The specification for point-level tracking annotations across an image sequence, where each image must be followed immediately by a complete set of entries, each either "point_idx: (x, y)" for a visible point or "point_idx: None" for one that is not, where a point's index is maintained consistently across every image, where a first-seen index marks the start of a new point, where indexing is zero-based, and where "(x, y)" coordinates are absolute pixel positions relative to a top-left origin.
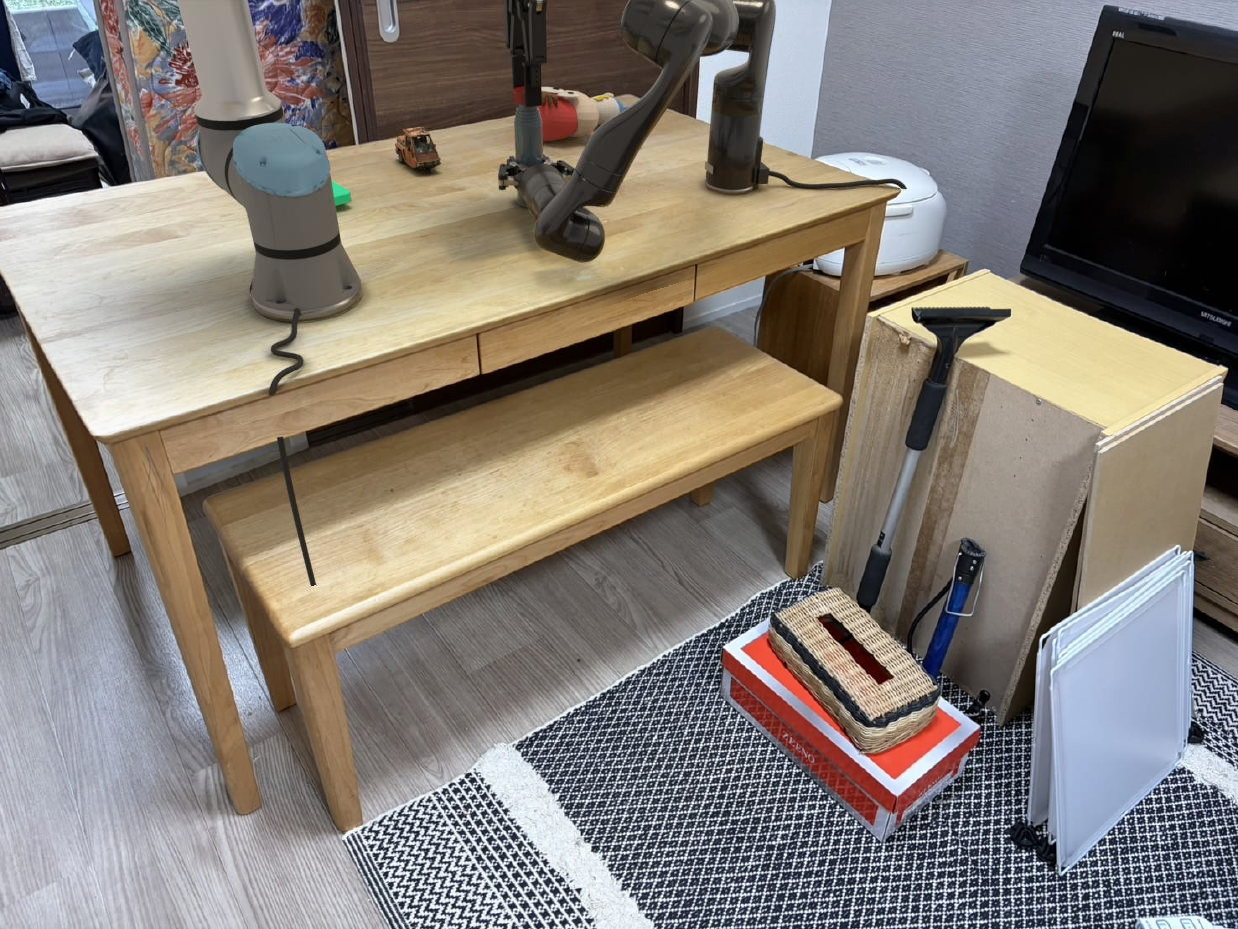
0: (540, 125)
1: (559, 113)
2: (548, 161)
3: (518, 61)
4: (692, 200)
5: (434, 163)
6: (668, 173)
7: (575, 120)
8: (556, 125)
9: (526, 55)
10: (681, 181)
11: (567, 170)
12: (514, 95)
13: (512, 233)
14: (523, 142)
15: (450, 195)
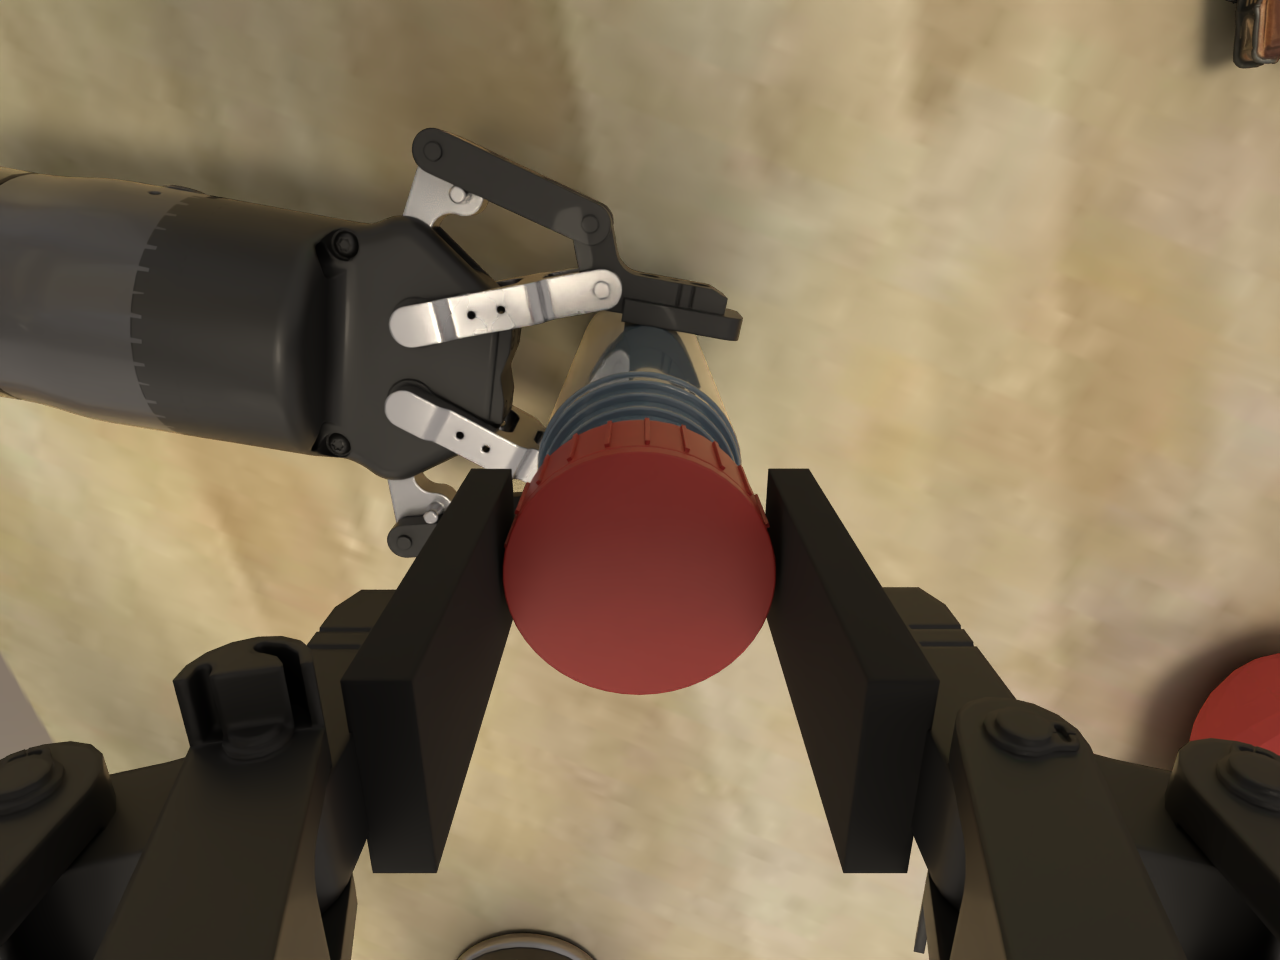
0: None
1: None
2: None
3: (843, 709)
4: (454, 858)
5: (1247, 18)
6: (712, 893)
7: None
8: (1231, 739)
9: (249, 810)
10: (626, 896)
11: (425, 520)
12: (637, 438)
13: (328, 144)
14: (571, 377)
15: (884, 10)
